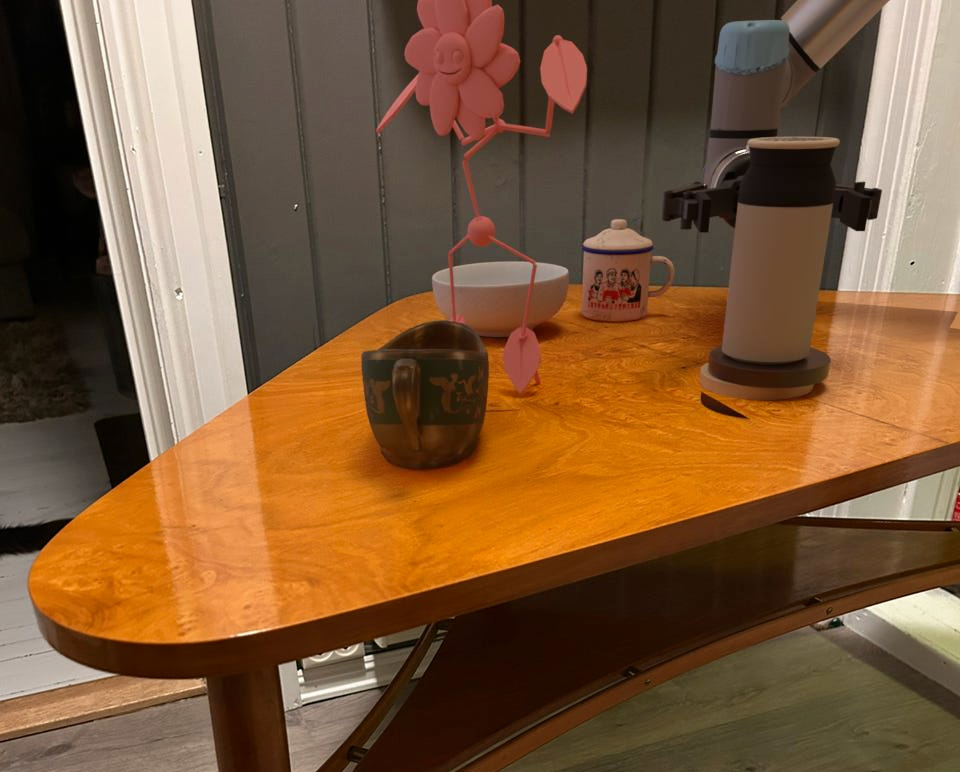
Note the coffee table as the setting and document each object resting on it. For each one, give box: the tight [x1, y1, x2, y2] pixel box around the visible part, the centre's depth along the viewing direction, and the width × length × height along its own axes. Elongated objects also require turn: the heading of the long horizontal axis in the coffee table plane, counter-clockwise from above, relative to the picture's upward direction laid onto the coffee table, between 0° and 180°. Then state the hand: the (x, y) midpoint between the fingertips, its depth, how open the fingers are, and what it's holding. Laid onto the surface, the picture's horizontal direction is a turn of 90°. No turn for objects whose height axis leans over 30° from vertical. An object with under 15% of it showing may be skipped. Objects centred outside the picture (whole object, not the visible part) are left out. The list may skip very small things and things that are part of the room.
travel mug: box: [721, 136, 841, 365], centre depth 84 cm, size 8×8×18 cm
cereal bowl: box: [431, 261, 570, 338], centre depth 117 cm, size 17×17×7 cm
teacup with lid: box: [581, 218, 675, 323], centre depth 121 cm, size 12×9×12 cm
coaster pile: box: [698, 345, 832, 420], centre depth 89 cm, size 12×11×4 cm
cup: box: [360, 319, 490, 471], centre depth 79 cm, size 13×20×10 cm, turn 147°
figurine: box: [375, 0, 588, 413], centre depth 87 cm, size 15×26×35 cm, turn 48°
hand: (783, 215), depth 83 cm, fingers open, 13 cm apart
